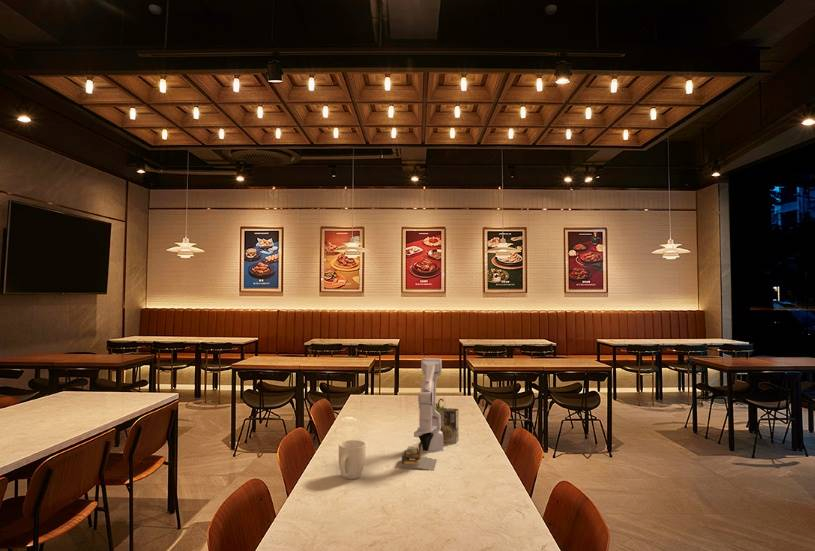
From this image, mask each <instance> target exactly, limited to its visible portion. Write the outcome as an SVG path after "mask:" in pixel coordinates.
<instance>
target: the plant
mask: <svg viewBox="0 0 815 551" xmlns="http://www.w3.org/2000/svg"><path fill="white" fill-rule="evenodd" d="M444 401H445V399H444V398H439V399H438V402H437V403H436V408H435V410H436V411H437V412H438V413H439V410H441V408H445V406H444V405H441V406H440V402H444ZM432 417H436V416H432Z"/></svg>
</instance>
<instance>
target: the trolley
mask: <svg viewBox="0 0 815 551" xmlns="http://www.w3.org/2000/svg"><path fill="white" fill-rule="evenodd" d="M406 450H407V453H406V459H407V460H409V459H410V457H416V458H415V459H416V460H419V457H420V456H422V452H423V450H422V444H421V441H419V444H418V446H407V448H406Z"/></svg>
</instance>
